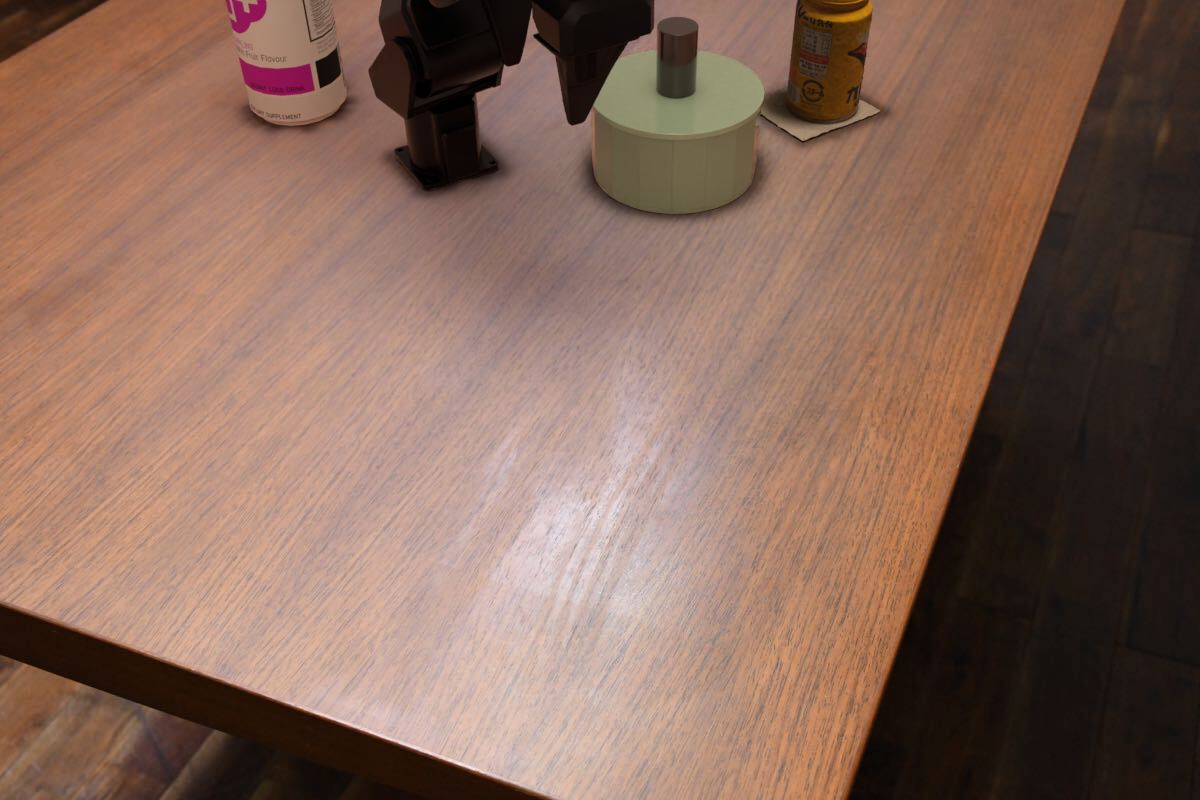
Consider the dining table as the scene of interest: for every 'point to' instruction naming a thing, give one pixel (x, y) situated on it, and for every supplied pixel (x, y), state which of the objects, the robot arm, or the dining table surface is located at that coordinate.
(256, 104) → the supplement can
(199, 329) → the dining table surface
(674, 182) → the canister
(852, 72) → the yellow drink can
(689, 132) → the lid
